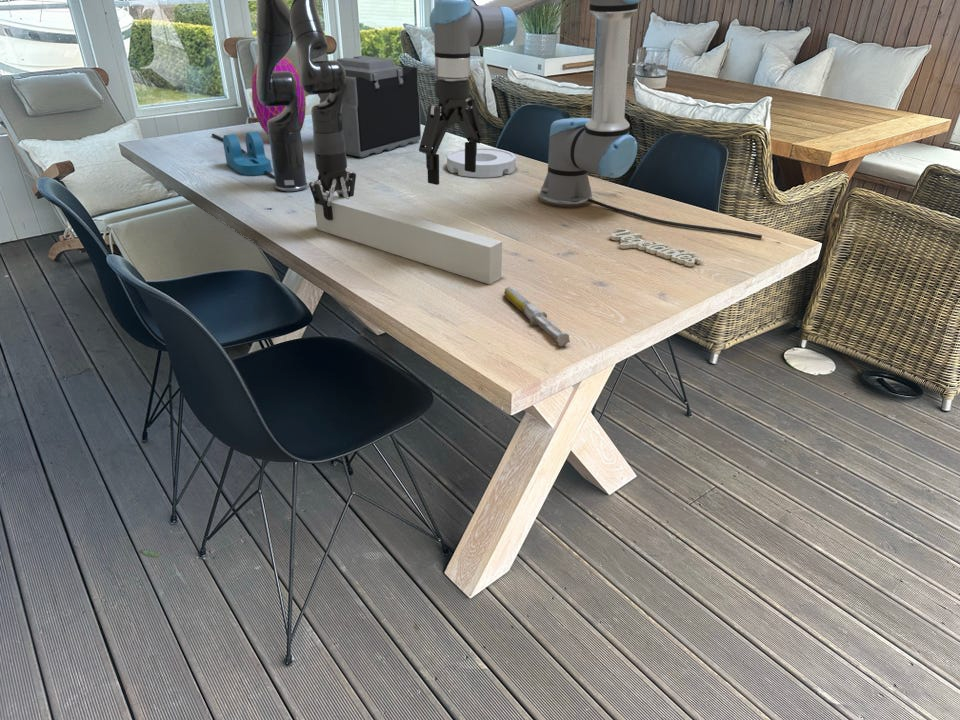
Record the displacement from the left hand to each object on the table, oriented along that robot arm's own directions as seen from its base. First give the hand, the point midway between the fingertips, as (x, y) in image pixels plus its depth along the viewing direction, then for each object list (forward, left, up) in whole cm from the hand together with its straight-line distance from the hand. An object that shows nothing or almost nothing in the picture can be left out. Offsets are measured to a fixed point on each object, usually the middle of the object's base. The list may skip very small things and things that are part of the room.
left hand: (336, 216), depth 176 cm
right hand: (+26, +20, +14) cm, 36 cm away
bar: (+21, +9, -4) cm, 23 cm away
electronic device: (-83, +41, -4) cm, 93 cm away
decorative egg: (-107, +15, -4) cm, 108 cm away
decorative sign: (+47, +64, -4) cm, 80 cm away
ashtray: (-37, +63, -4) cm, 73 cm away
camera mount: (-71, -6, -4) cm, 72 cm away
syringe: (+66, +18, -4) cm, 68 cm away
